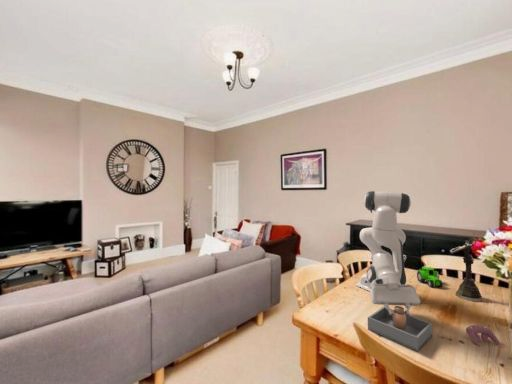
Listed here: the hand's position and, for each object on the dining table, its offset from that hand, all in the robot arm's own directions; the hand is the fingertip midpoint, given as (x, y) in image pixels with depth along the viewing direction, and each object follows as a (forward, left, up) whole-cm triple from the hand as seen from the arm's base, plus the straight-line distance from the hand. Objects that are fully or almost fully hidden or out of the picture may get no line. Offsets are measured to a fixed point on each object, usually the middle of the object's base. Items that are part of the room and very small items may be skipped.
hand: (399, 314), depth 107 cm
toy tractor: (-11, +76, -9) cm, 77 cm away
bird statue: (+7, +68, -9) cm, 69 cm away
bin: (-1, +1, -8) cm, 8 cm away
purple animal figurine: (+23, +20, -9) cm, 32 cm away
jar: (0, 0, -5) cm, 5 cm away
